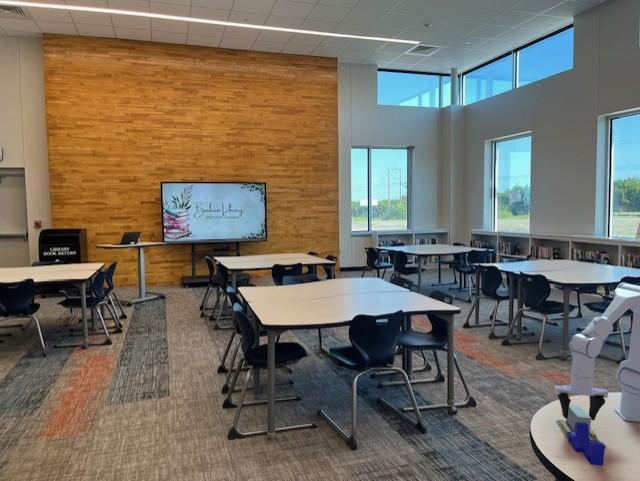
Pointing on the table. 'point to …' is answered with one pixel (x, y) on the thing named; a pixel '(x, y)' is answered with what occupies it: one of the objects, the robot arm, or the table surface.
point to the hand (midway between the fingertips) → (578, 417)
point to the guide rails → (570, 431)
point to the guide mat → (571, 431)
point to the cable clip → (586, 444)
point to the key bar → (577, 417)
